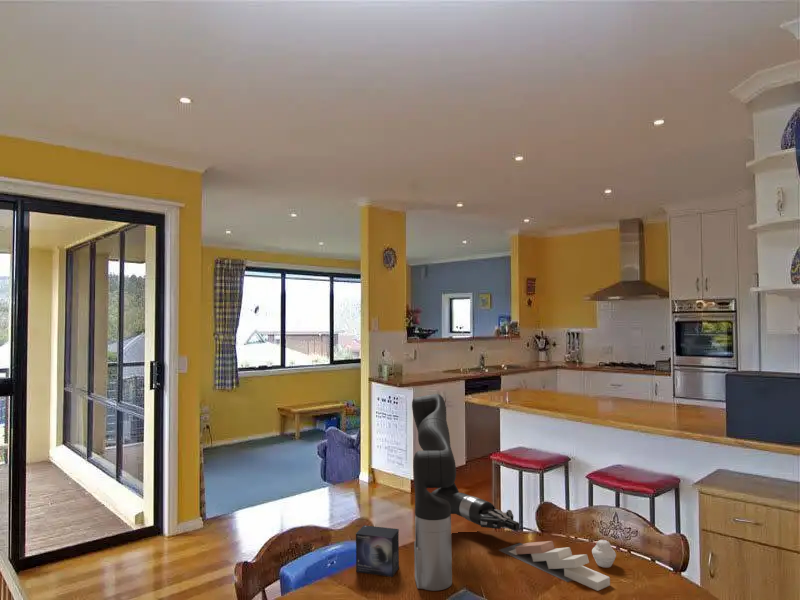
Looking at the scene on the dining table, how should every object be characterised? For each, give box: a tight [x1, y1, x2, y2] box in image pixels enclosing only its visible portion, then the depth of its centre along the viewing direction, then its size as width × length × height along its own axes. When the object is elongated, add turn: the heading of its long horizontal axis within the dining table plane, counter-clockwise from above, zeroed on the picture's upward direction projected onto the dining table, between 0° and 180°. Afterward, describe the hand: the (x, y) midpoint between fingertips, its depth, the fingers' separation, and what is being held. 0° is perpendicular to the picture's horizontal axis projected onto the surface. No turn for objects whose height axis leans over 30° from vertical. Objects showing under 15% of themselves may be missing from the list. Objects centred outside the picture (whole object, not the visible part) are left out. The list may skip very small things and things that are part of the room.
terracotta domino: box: [515, 540, 555, 554], centre depth 154 cm, size 2×5×10 cm
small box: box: [355, 524, 400, 578], centre depth 149 cm, size 11×6×10 cm, turn 73°
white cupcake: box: [591, 539, 617, 568], centre depth 150 cm, size 6×6×7 cm
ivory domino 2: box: [546, 553, 590, 569], centre depth 145 cm, size 2×5×10 cm
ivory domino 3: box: [564, 565, 611, 592], centre depth 140 cm, size 2×5×10 cm
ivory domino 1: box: [531, 546, 573, 562], centre depth 150 cm, size 2×5×10 cm
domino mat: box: [498, 542, 573, 583], centre depth 152 cm, size 24×9×1 cm, turn 35°
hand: (517, 527), depth 160 cm, fingers closed
